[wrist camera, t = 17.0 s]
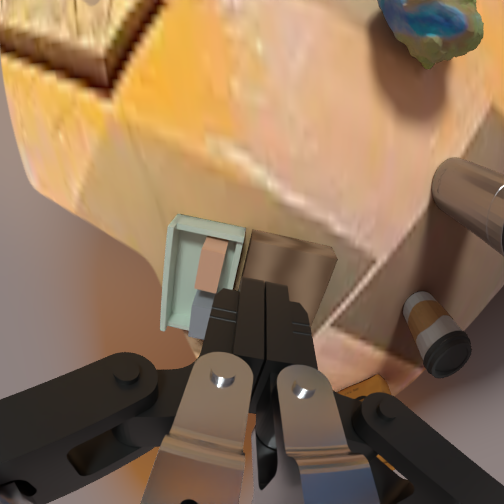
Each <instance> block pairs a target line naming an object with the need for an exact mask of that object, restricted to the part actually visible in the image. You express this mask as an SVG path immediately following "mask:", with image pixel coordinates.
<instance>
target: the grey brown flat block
mask: <svg viewBox="0 0 504 504" xmlns="http://www.w3.org/2000/svg"><path fill="white" fill-rule="evenodd" d="M337 260H338V259H337V257H336V255H335V253H334V251H333V248H332V247H329V246H325V245H321V244H316V243H312V242H308V241H303V240H299V239H294V238H290V237H285V236H281V235H276V234H272V233H267V232H262V231H258V230H252V234H251V239H250V243H249V247H248V251H247V255H246V260H245V264H244V268H243V272H242V276H243V277H248V278H253V279H258V280H263V281H264V283H265V281H268V282H273V283H278V284H283V285H287V286H288V293H289V301H292V302H298V303H300V304H301V305H302V306H303V308H304V309H305V310H306V312H307V313H308V317H309V323H310V326H309V327H311V325H312V323H313V320H314V318H315V315H316V313H317V311H318V308H319V306H320V303H321V301H322V298H323V296H324V293H325V291H326V288H327V286H328V283H329V281H330V278H331V276H332V273H333V270H334V268H335V265H336V262H337ZM241 278H242V277H241ZM240 282H241V281H240ZM239 286H240V285H239ZM238 291H239V290H238Z"/></svg>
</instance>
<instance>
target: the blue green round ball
mask: <svg viewBox="0 0 504 504" xmlns="http://www.w3.org/2000/svg"><path fill="white" fill-rule="evenodd" d="M377 1H378V4H379V7H380V8H381V10H382V11H383V15H384V18H385V19H386V21H387V23H388V25H389V27H390V28H391V30H392V31H393V33H394V36H395V37H396V39H397V40H398V41H400V42H402V43H404V44H405V45H406V46H407V48H408V50H409V53H410V55H411V56H413V57H415V58H416V59H418V61H419V62H421V64H422V65H423V67H424V68H425V69H431V68H432V67H433V65H434V64H435V63H439V62H441V61H444V60H447V61H448V60H451V59H452V58H453V57H458V56H462V55H465V54H467V52H469V51H472V50H474V49H476V48H477V46H478V45H479V44H480V42H481V39H482V38H483V24H484V23H483V22H482V19H481V16H480V14H479V13H478V12H477V10H476V0H377Z"/></svg>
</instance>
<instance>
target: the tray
mask: <svg viewBox="0 0 504 504" xmlns="http://www.w3.org/2000/svg"><path fill="white" fill-rule="evenodd" d="M245 230H246V228H244V227H239V226H235V225H230V224H225V223H220V222H216V221H211V220H206V219H201V218H196V217H191V216H186V215H182V214H177V215H176V217H175V218H174V219H173V220H172V222H171V223H170V224H169V225H168V230H167V240H166V250H165V261H164V273H163V286H162V303H161V321H160V330H162V331H165V330H166V327H167V326H171V327H175V328H180V329H184V330H188V331H189V325H190V317H191V308H192V303H193V301H194V298H195V295H196V292H197V289H195V288H194V287H195V281H196V276H197V270H198V265H199V260H200V254H201V249H202V247H203V244H204V242H205V240H206V237H207V235H208V236H213V237H217V238H222V239H227V240H229V242H228V246H227V250H226V254H225V259H224V263H223V267H222V271H221V275H220V280H219V284H218V292H219V291H220V290H222V289H223V288H226V289H231V290H233V285H234V281H235V276H236V272H237V267H238V263H239V259H240V254H241V250H242V245H243V241H244V237H245ZM218 292H217V293H218Z"/></svg>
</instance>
